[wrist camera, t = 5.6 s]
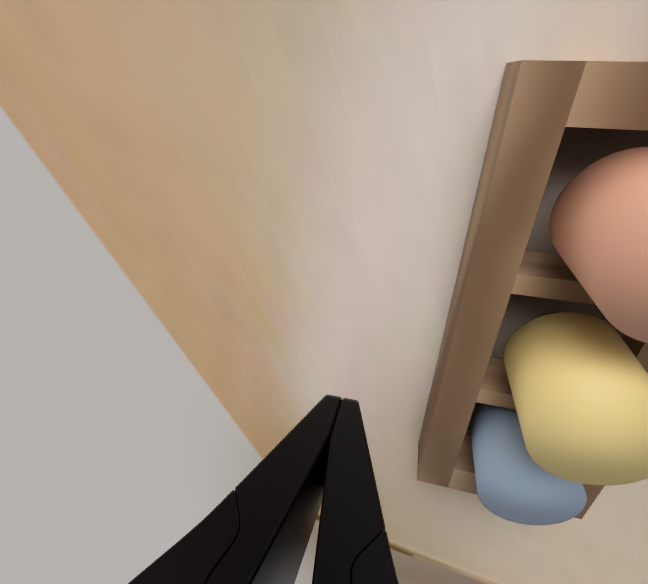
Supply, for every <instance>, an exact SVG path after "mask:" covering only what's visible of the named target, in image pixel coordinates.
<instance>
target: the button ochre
mask: <svg viewBox="0 0 648 584" xmlns="http://www.w3.org/2000/svg"><path fill="white" fill-rule="evenodd" d="M503 359H504V365H505V368H506V372H507V376H508V380H509V384H510V388H511V391H512V395H513V399H514V403H515V407H516V411H517V415H518V418H519V422H520V426H521V430H522V434H523V438H524V441H525V445H526V448H527V451H528V453H529V455H530V456H531V458H532V459H533V460H534V461H535V462H536V463H537V464H538V465H539V466H540V467H541V468H543V469H544V470H546V471H547V472H549V473H551V474H553V475H555V476H557V477H559V478H562V479H565V480H568V481H572V482H576V483H582V484H589V485H620V484H627V483H632V482H637V481H640V480H644V479H647V478H648V373H647V372H646V370H645V369H644V368H643V366H642V365H641V364H640V362H639V361H638V360H637V358H636V357H635V355H634V354H633V353H632V351H631V350H630V349H629V347H628V346H627V345H626V343H625V342H624V341H623V339H622V338H621V336H620V335H619V334H618V332H617V331H616V330H615V329H614V328H613V327H612V326H611V325H610V324H608V323H607V322H605V321H604V320H602V319H600V318H598V317H595V316H592V315H589V314H584V313H578V312H559V313H552V314H547V315H544V316H541V317H538V318H535V319H533V320H531V321H529V322H527V323H525V324H524V325H523V326H521V327H520V328H519V329H517V330H516V331H515V332H514V333H513V335H512V336H511V337H510V338H509V340H508V342H507V344H506V346H505V349H504V355H503Z"/></svg>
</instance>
